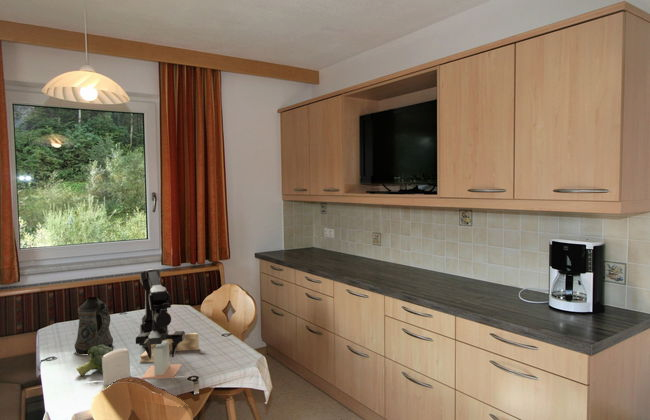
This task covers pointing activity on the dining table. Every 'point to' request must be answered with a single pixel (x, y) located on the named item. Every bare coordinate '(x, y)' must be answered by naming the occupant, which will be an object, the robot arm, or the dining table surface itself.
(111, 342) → the beer stein
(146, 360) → the offcut middle
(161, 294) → the robot arm
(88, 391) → the dining table surface
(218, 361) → the dining table surface
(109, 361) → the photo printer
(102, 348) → the vegetable
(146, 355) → the offcut top
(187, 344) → the rack
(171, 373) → the mat
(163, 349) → the tall pale grey block
